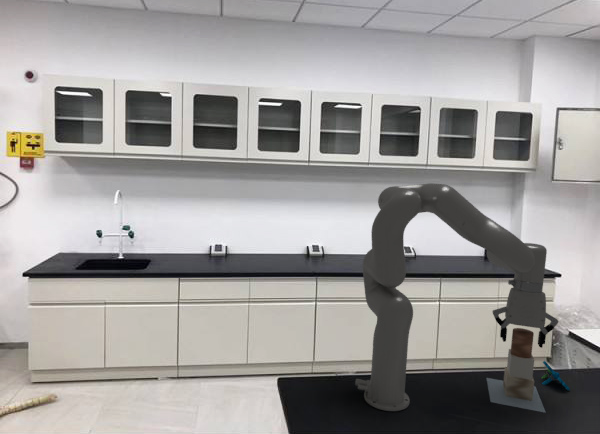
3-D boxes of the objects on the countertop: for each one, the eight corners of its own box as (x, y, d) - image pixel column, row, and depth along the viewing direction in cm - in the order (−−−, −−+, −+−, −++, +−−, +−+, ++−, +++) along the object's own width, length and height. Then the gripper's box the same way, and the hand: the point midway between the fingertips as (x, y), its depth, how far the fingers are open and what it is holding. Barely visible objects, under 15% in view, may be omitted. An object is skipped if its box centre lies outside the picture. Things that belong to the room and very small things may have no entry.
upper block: (509, 376, 130) (511, 356, 129) (506, 367, 135) (508, 348, 135) (532, 380, 128) (534, 360, 127) (528, 371, 133) (530, 352, 133)
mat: (490, 403, 126) (490, 401, 126) (486, 379, 141) (486, 377, 141) (545, 414, 122) (545, 412, 122) (535, 387, 137) (535, 386, 137)
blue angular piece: (575, 392, 132) (550, 364, 134) (559, 403, 133) (534, 375, 135) (565, 380, 142) (542, 355, 145) (550, 391, 144) (527, 365, 146)
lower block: (505, 396, 130) (507, 376, 129) (503, 385, 137) (504, 366, 136) (532, 401, 128) (534, 381, 127) (528, 389, 134) (530, 371, 134)
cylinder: (511, 356, 129) (514, 333, 128) (509, 349, 134) (511, 326, 134) (532, 359, 127) (535, 336, 127) (529, 352, 133) (531, 329, 132)
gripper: (496, 285, 128) (490, 342, 130) (564, 293, 122) (557, 353, 124) (494, 279, 135) (488, 333, 137) (558, 287, 129) (552, 343, 131)
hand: (521, 342), depth 130 cm, fingers open, 9 cm apart
